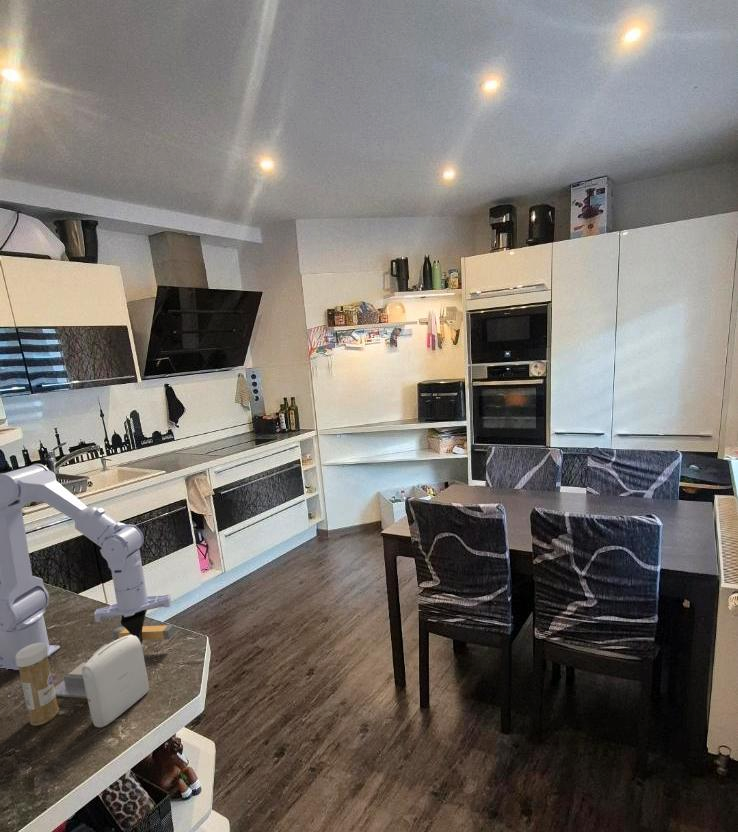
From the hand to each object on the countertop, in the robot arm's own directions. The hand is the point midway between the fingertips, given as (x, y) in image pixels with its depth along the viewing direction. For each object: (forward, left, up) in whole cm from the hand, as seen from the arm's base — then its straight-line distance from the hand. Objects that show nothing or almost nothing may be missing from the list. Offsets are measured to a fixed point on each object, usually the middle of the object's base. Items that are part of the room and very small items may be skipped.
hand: (139, 643), depth 98 cm
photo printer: (+7, -14, -3) cm, 15 cm away
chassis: (-7, -4, -3) cm, 9 cm away
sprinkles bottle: (-7, -17, -3) cm, 19 cm away
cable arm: (-1, +2, 0) cm, 3 cm away
